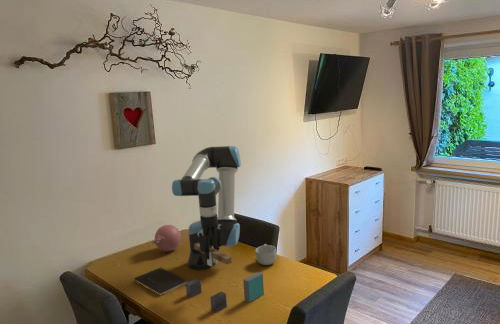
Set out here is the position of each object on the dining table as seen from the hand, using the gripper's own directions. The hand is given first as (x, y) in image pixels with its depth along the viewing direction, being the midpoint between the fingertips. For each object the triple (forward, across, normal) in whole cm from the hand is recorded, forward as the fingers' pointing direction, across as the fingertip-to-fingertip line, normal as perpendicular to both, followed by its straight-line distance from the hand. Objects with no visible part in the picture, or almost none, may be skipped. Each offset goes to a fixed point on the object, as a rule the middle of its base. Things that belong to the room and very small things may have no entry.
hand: (212, 263), depth 173 cm
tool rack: (+14, -8, -3) cm, 16 cm away
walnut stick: (-4, 0, 0) cm, 4 cm away
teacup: (+15, +38, +4) cm, 41 cm away
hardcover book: (+15, -12, +28) cm, 34 cm away
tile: (+14, +9, -17) cm, 24 cm away
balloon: (+15, +10, +59) cm, 62 cm away
